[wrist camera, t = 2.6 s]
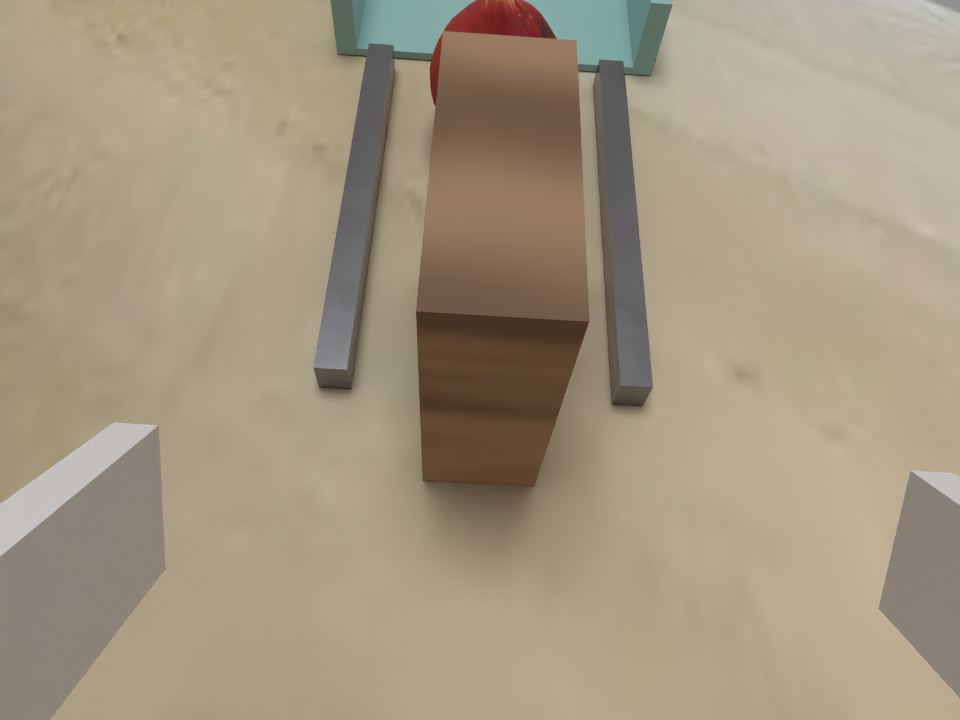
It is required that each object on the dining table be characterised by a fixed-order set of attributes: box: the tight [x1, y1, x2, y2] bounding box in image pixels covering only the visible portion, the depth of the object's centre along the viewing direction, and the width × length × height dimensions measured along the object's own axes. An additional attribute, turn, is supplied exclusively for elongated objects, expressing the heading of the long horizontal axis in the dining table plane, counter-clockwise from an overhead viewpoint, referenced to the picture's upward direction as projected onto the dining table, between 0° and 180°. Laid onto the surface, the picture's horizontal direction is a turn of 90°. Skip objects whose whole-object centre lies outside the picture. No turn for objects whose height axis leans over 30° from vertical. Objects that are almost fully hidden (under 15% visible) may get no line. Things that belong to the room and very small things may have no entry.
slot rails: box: [314, 43, 653, 405], centre depth 32 cm, size 18×12×2 cm
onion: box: [430, 0, 557, 106], centre depth 32 cm, size 6×6×8 cm
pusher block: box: [416, 31, 589, 487], centre depth 24 cm, size 10×4×11 cm, turn 178°
